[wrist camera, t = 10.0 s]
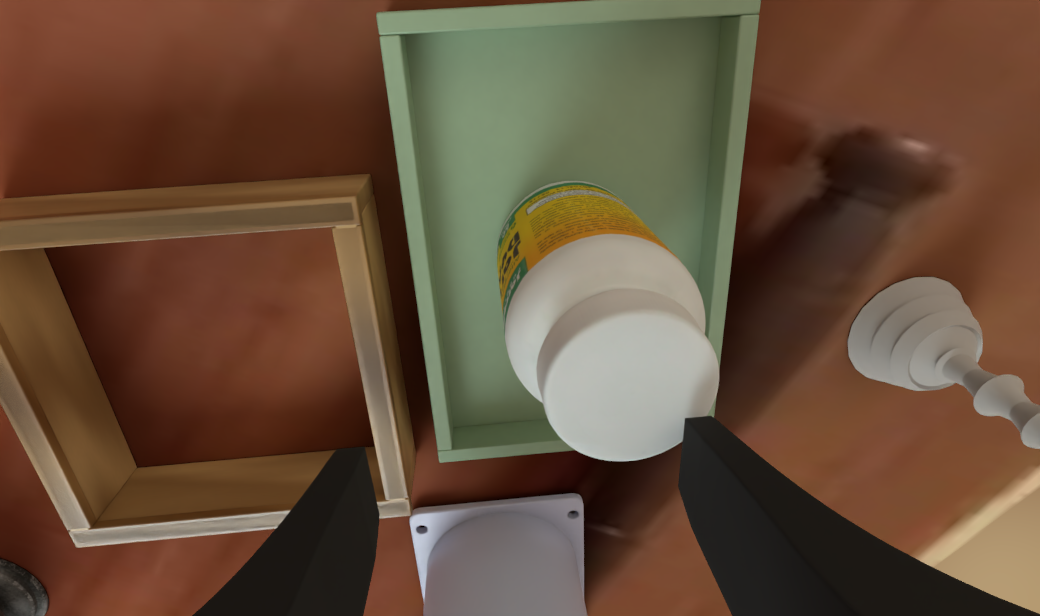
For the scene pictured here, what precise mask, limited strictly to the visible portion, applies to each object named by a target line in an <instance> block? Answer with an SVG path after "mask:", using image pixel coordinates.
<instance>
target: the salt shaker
mask: <svg viewBox="0 0 1040 616" xmlns="http://www.w3.org/2000/svg"><path fill="white" fill-rule="evenodd" d="M48 601H49V600H48V597H47V594H46V591H45V589H44V588H43V586H42V585H41V584H40V582H39V581H38V580H37V579H36V578H35V577H34V576H32V575H31V574H30V573H29V572H28V571H26V570H25V569H23V568H21V567H19V566H17V565H15V564H13V563H11V562H8V561H6V560H3V559H0V616H44V615H45V614H46V612H47V610H48Z"/></svg>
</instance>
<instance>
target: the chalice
mask: <svg viewBox="0 0 1040 616" xmlns="http://www.w3.org/2000/svg"><path fill="white" fill-rule="evenodd" d="M982 343H983V340H982V330H981V328H980V325H979V323H978V321H977V320H976V319H975V318H973V316H972V313H971V311H970V308H969V307H968V306H967V305H966V304H965V303H964V301H963V298H962V296H961V293H960V292H959V291H958V290H957V289H956V288H955V287H954V286H953V285H952V284H951V283H949V282H947V281H944V280H941V279H938V278H935V277H914V278H911V279H907V280H904V281H901V282H898V283H895V284H893V285H891V286H890V287H888V288H886V289H885V290H883V291H881V292H880V293H878V294H877V295H876V296H875V297H874V298H873V299H872V300H870V301H869V302H868V303H867V304H866V305H865V306H864V307H863V308H862V310H861V311H860V313H859V315H858V316H857V318H856V319H855V321H854V323H853V324H852V327H851V331H850V334H849V338H848V353H849V358H850V360H851V362H852V363H853V365H854V367H855V369H856V370H858V371H859V372H860V373H862V374H863V375H864V376H866V377H867V378H871V379H874V380H878V381H881V382H886V383H889V384H893V385H896V386H902V387H904V388H907V389H911V390H914V391H924V390H939V389H942V388H945V387H949V386H951V385H953V384H955V383H958V384H960V385H963V386H965V387H966V389H967V390H968V391H969V392H970V393H971V394H972V396H973V397H974V407H975V409H976V411H977V412H978V413H980V414H981V415H985V416H998V415H999V416H1002V417H1004V418H1007V419H1009V420H1012V422H1013V423H1014V424H1015V426H1016V427H1017V428H1018V430H1019V431H1020V435H1021V439H1022V441H1023V443H1024V444H1025V445H1026V446H1027V447H1031V448H1036V449H1040V405H1037V404H1034V403H1032V402H1031V401H1030V400H1029V399H1028V397H1027V396H1026V395H1025V394H1024V384H1023V382H1022V380H1021V379H1020V378H1019V377H1018V376H1014V375H1000V376H997V375H994V374H992V373H989V372H987V371H984V370H982V369H981V367H980V366H979V365H978V364H977V362H978V360H979V358H980V355H981V353H982Z"/></svg>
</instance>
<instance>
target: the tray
mask: <svg viewBox="0 0 1040 616" xmlns="http://www.w3.org/2000/svg"><path fill="white" fill-rule="evenodd" d="M760 4H761V0H590V1H571V2H553V3H535V4H517V5H498V6H480V7H462V8H444V9H426V10H407V11H389V12H378V13H377V14H376V17H377V24H378V32H379V34H380V35H382V36H380V38H379V39H380V46H381V53H382V60H383V67H384V74H385V81H386V88H387V95H388V102H389V110H390V117H391V124H392V131H393V138H394V145H395V152H396V159H397V166H398V173H399V181H400V188H401V195H402V202H403V209H404V216H405V223H406V230H407V237H408V244H409V251H410V259H411V266H412V273H413V280H414V287H415V294H416V301H417V308H418V315H419V322H420V330H421V337H422V344H423V351H424V358H425V365H426V372H427V379H428V386H429V393H430V400H431V408H432V415H433V422H434V429H435V436H436V443H437V449H438V458H439V462H440V463H442V462H453V461H464V460H475V459H485V458H496V457H507V456H518V455H529V454H540V453H551V452H561V451H572V450H575V449H573V448H572V447H570V446H569V445H568V444H567V443H565V442H564V441H563V440H562V439H561V438H560V437H559V436H558V435H557V433H556V432H555V430H554V429H553V427H552V426H551V424H550V423H549V421H548V418H547V415H546V413H545V409H544V405H543V403H542V402H540V401H539V400H538V399H536V398H535V397H534V396H533V395H532V394H531V393H530V392H529V391H528V390H527V389H526V388H525V386H524V385H523V384H522V383H521V381H520V380H519V378H518V376H517V375H516V373H515V371H514V369H513V367H512V364H511V361H510V358H509V355H508V351H507V347H506V343H505V338H504V324H503V313H502V304H501V298H500V288H499V278H498V270H497V242H498V237H499V234H500V231H501V228H502V226H503V224H504V223H505V221H506V219H507V217H508V216H509V214H510V213H511V212H512V210H513V209H514V208H515V207H516V206H517V205H518V204H519V203H520V202H521V201H522V200H523V199H524V198H525V197H527V196H528V195H529V194H531V193H532V192H534V191H535V190H537V189H539V188H541V187H543V186H545V185H548V184H551V183H556V182H561V181H584V182H589V183H593V184H596V185H599V186H601V187H603V188H605V189H607V190H609V191H611V192H612V193H614V194H615V195H616V196H618V197H619V198H620V199H621V200H622V201H623V202H624V203H625V204H626V205H627V206H628V207H629V208H630V209H631V210H632V211H633V212H634V213H635V214H636V215H637V216H638V217H639V218H640V219H641V220H642V222H643V223H644V224H645V225H646V226H647V227H648V228H649V229H650V230H651V231H652V232H653V233H654V234H655V235H656V236H657V237H658V238H659V239H660V240H661V241H662V242H663V243H664V244H665V246H667V248H668V249H669V250H670V251H671V252H672V253H673V254H675V255H676V257H677V258H678V259H679V260H680V261H681V263H682V264H683V265H684V266H685V267H686V269H687V270H688V272H689V273H690V274H691V276H692V277H693V279H694V281H695V283H696V285H697V287H698V289H699V291H700V294H701V297H702V300H703V305H704V309H705V336H706V337H707V338H708V340H709V341H710V343H711V345H712V347H713V349H714V351H715V354H716V357H717V361H718V365H719V368H720V359H721V350H722V341H723V332H724V323H725V314H726V306H727V297H728V288H729V279H730V270H731V261H732V252H733V243H734V235H735V226H736V217H737V208H738V199H739V190H740V181H741V172H742V164H743V155H744V146H745V137H746V128H747V119H748V110H749V102H750V93H751V84H752V75H753V66H754V57H755V48H756V39H757V31H758V22H759V15H758V13H759V12H760ZM715 403H716V398H715V400H714V403H713V405H712V408H711V409H710V411H709V413H708V415H707V416H712V417H714V412H715Z"/></svg>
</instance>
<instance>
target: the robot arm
mask: <svg viewBox="0 0 1040 616" xmlns="http://www.w3.org/2000/svg"><path fill="white" fill-rule="evenodd" d="M678 487H679V490H680V493H681V497H682V500H683V503H684V506H685V509H686V512H687V515H688V518H689V521H690V524H691V527H692V530H693V532H694V534H695V536H696V539H697V541H698V543H699V545H700V547H701V549H702V552H703V554H704V556H705V558H706V560H707V562H708V565H709V567H710V569H711V571H712V573H713V575H714V577H715V579H716V582H717V584H718V586H719V588H720V590H721V592H722V594H723V597H724V599H725V601H726V603H727V605H728V607H729V609H730V611H731V614H732V616H1040V614H1038V613H1036V612H1033V611H1030V610H1028V609H1025V608H1023V607H1020V606H1018V605H1015V604H1013V603H1010V602H1008V601H1005V600H1003V599H1000V598H998V597H995V596H993V595H991V594H988V593H986V592H984V591H982V590H980V589H977V588H975V587H973V586H971V585H969V584H966V583H964V582H962V581H959V580H958V579H955V578H953V577H951V576H949V575H947V574H945V573H943V572H941V571H939V570H937V569H935V568H933V567H931V566H929V565H927V564H925V563H923V562H921V561H919V560H917V559H915V558H913V557H911V556H910V555H908V554H906V553H904V552H902V551H900V550H898V549H896V548H894V547H893V546H891V545H889V544H887V543H885V542H884V541H882V540H880V539H878V538H877V537H875V536H873V535H872V534H870V533H868V532H867V531H865V530H863V529H862V528H860V527H859V526H857V525H855V524H854V523H852V522H850V521H849V520H847V519H846V518H844V517H842V516H841V515H839V514H838V513H836V512H835V511H833V510H832V509H830V508H829V507H827V506H826V505H824V504H823V503H821V502H820V501H819V500H817V499H816V498H814V497H813V496H811V495H810V494H809V493H807V492H806V491H804V490H803V489H802V488H800V487H799V486H798V485H796V484H795V483H794V482H792V481H791V480H790V479H788V478H787V477H786V476H784V475H783V474H782V473H780V472H779V471H778V470H777V469H775V468H774V467H773V466H772V465H770V464H769V463H768V462H766V461H765V460H764V459H763V458H762V457H760V456H759V455H758V454H757V453H755V452H754V451H753V450H752V449H751V448H749V447H748V446H747V445H746V444H745V443H743V442H742V441H741V440H740V439H739V438H738V437H736V436H735V435H734V434H733V433H732V432H730V431H729V430H728V429H727V428H726V427H725V426H723V425H722V424H721V423H720V422H719V421H717V420H716V419H715V418H714V417H712V416H703V417H692V418H685V423H684V433H683V443H682V453H681V464H680V474H679V484H678ZM570 511H575V512H573V513H569V512H570ZM379 515H380V514H379V510H378V505H377V500H376V496H375V491H374V487H373V482H372V477H371V473H370V468H369V464H368V459H367V454H366V450H365V447H355V448H344V449H337V450H336V451H335V452H334V453H333V454H332V456H331V457H330V458H329V460H328V461H327V462H326V464H325V465H324V467H323V468H322V469H321V471H320V472H319V474H318V475H317V476H316V478H315V479H314V480H313V482H312V483H311V484H310V486H309V487H308V488H307V490H306V491H305V493H304V494H303V495H302V497H301V498H300V499H299V500H298V502H297V503H296V504H295V505H294V507H293V508H292V509H291V511H290V512H289V513H288V514H287V516H286V517H285V518H284V519H283V521H282V522H281V523H280V524H279V526H278V527H277V528H276V529H275V530H274V532H273V533H272V534H271V535H270V536H269V537H268V539H267V540H266V541H265V542H264V543H263V544H262V546H261V547H260V548H259V549H258V550H257V551H256V552H255V554H254V555H253V556H252V557H251V558H250V559H249V560H248V561H247V563H246V564H245V565H244V566H243V567H242V568H241V569H240V570H239V571H238V572H237V573H236V574H235V575H234V576H233V577H232V578H231V579H230V580H229V581H228V582H227V583H226V584H225V585H224V586H223V587H222V588H221V589H220V590H219V591H218V592H217V593H216V594H215V595H214V596H213V597H212V598H211V599H210V600H209V601H208V602H207V603H206V604H205V605H204V606H203V607H202V608H200V609H199V610H198V611H197V612H196V613H195V614H194V615H193V616H363V613H364V609H365V604H366V600H367V595H368V591H369V586H370V581H371V577H372V572H373V567H374V562H375V557H376V547H377V538H378V526H379ZM409 522H410V528H411V533H412V539H413V545H414V550H415V556H416V561H417V567H418V572H419V578H420V584H421V589H422V595H423V600H424V611H423V616H587V612H586V607H585V602H584V505H583V500H582V497H581V496H580V495H579V494H576V493H567V494H557V495H547V496H536V497H526V498H515V499H505V500H494V501H484V502H473V503H463V504H452V505H442V506H432V507H421V508H416V509H414V510H413V511H412V515H411V516H410V521H409ZM420 525H423V526H426V527H419V526H420Z"/></svg>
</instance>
